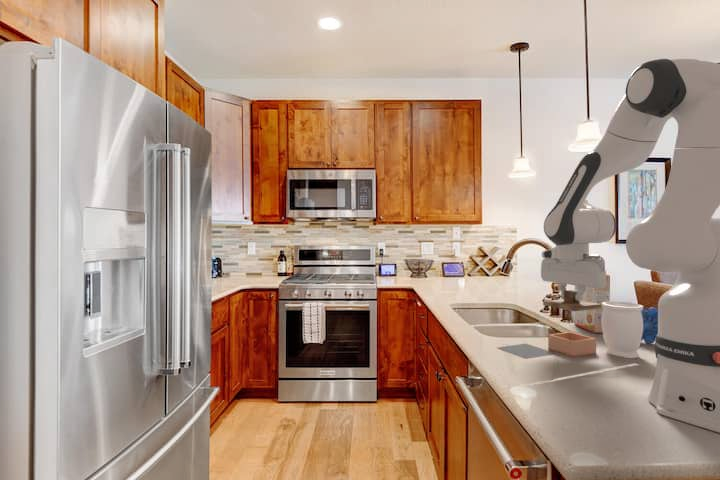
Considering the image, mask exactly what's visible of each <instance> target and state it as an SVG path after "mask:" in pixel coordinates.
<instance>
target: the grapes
mask: <svg viewBox="0 0 720 480" xmlns="http://www.w3.org/2000/svg"><path fill="white" fill-rule="evenodd" d="M641 314H642V318H643V334H642V338H641V342H642V341H644V342H645V343H646V344H649V345H651V344H653V343H655V339H656V335H657V334H658V307H654V306H652V307H649V308H648V309H647V310H646V309H645V308H643V310H642V311H641Z"/></svg>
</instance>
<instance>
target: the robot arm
mask: <svg viewBox="0 0 720 480" xmlns="http://www.w3.org/2000/svg"><path fill="white" fill-rule="evenodd" d="M672 118H673V119H675V121H676V122H677V134H676V139H675V140H676V141H675V146H674V150H673V156H672V162H671V167H670V172H669V175H668V181H667V184H666V186H665V189H664V191H663V194H662V196H661V198H660V199H659V201H658V203H657V204H656V205H655V207H654V208H653V210H651V212H650V213H649V214H647V217H645V218H644V219H643V220H642V221H640V222H638V223H637V224H635V225H634V226H633V227H632V228H631V229H630V231H629V233H628V234H627V237H626V242H625V248H626V253H627V257H628V258H629V259H630V260H631V262H632V263H633V264H634V265H635V266H637V267H638V268H641V269H646V270H650V271H655V272H661V273H678V276H677V278H676V280H675V283H674V284H673V286H672V287H670V288H669V289H668V290H667V291H665V292H664V293H663V294H662V295H661V296H660V297H659V299H658V302H657V309H658V334H657V335H656V338H655V341H654V343H655V345H654V347H655V348H654V349H655V350H654V353H655V358H656V363H655V364H656V365H655V373H654V376H653V377H654V378H653V382H652V385H651V388H650V389H651V390H650V392H649V394H648V399H647V400H648V401H649V402H650V404H652V405H653V406H654V407H655V409H656V412H657V413H658V414H660V415H663V416H664V417H667V418H671V419H675V420H678V421H681V422H683V423H687V424H690V425H693V426H697V427H700V428H704V429H707V430H710V431H713V432H716V433H719V434H720V218H719V217H718V218H715V217H714V218H713V216H714V214H715V212H716V210H717V209H718V208H719V207H720V62H712V61H708V60H707V61H706V60H699V59H695V58H680V59H679V58H677V59H676V58H675V59H674V58H673V59H669V58H659V59H654V60H649V61H646V62H644V63H642V64H640V65H639V66H638V67H637V68H635V69H634V70H633V72H632V73H631V75H630V76H629V79H628V80H627V82H626V87H625V95H624V96H623V98H622V99H621V100H620V102H619V104H618V106H617V108H616V109H615V111H614V113H613V115H612V117H611V119H610V121H609V124H608V126H607V127H606V130H605V133H604V135H603V137H602V138H601V139H600V141H599V143H597V145H595V147H594V148H593V149H592V150H591V151H590V152H588V153H586V154H585V155H584V156H583V157H582V158H581V160H580V161H579V163H578V165H577V166H576V168H575V170H574V171H573V173H572V174H571V177H570V178H569V180H568V182H567V184H566V185H565V187H564V189H563V191H562V193H561V195H560V197H559V198H558V200H557V202H556V203H555V205H554V206H553V208H552V209H551V210H550V211H549V213H548V214H547V216H546V217H545V219H544V223H543V232H544V234H545V236H546V237H547V238H548V240H549V241H550V242H552V243H553V244H554V245H555V246H554V247H551V248H549V249H546V250H543V251H541V258H543V259H542V260H541V264H540V278H541V279H542V281H543V282H549V283H556V284H557V288H558V290H559V292H560V294H561V295H560V297H561V299H564V291H565V290H567V286H568V285H571V286H575V285H576V286H577V289H578V292H577V294H576V295H574V300H575V301H582V295H583V294H584V292H585V291H586V287H591V288H604V287H605V286H606V284H607V278H606V275H607V272H606V261H605V259H604V258H603V257H602V256H601V255H599V254H590V249H589V248H590V247H589V246H590V244H601V243H607V242H609V241H610V240H612V238H613V237H614V236H615V234H616V231H617V220H616V218H615V216H614V214H613V213H612V212H611V211H610V210H608V209H604V208H600V207H596V206H594V205H592V204H590V203H589V202H588V201H589V200H587V197H588V195H589V194H590V192H591V190H592V189H593V188H594V187H596V185H597V184H599V183H600V182H602V181H603V180H606V179H609V178H611V177H613V176H616V175H619V174H623V173H627V172H629V171H632V170H634V169H637V168H638V167H640V166H642V165H643V164H644V163H645V162H646V161H647V160H648V159H649V157H650V156H651V154H652V153H653V152H654V149H655V148H656V145H657V143H658V140H659V138H660V136H661V133H662V131H663V129H664V127H665V125H666V123H667V122H668V121H669V120H670V119H672Z"/></svg>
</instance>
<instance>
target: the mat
mask: <svg viewBox="0 0 720 480" xmlns="http://www.w3.org/2000/svg"><path fill="white" fill-rule="evenodd" d="M497 349H498V350H500V351H504V352H506V353H508V354H509V353H510V354H511V355H514V356H517V357H520V358H522V359H525V360H527V359H533V358H539V357H546V356H552V355H557V353H558V352H557V353H556V352H555V351H552V350H549V349H548V350H547V349H545V348H541V347H538V346H535V345H532V344H528V343H520V344H513V345H506V346H505V345H504V346H500V347H499V346H498V347H497Z"/></svg>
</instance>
